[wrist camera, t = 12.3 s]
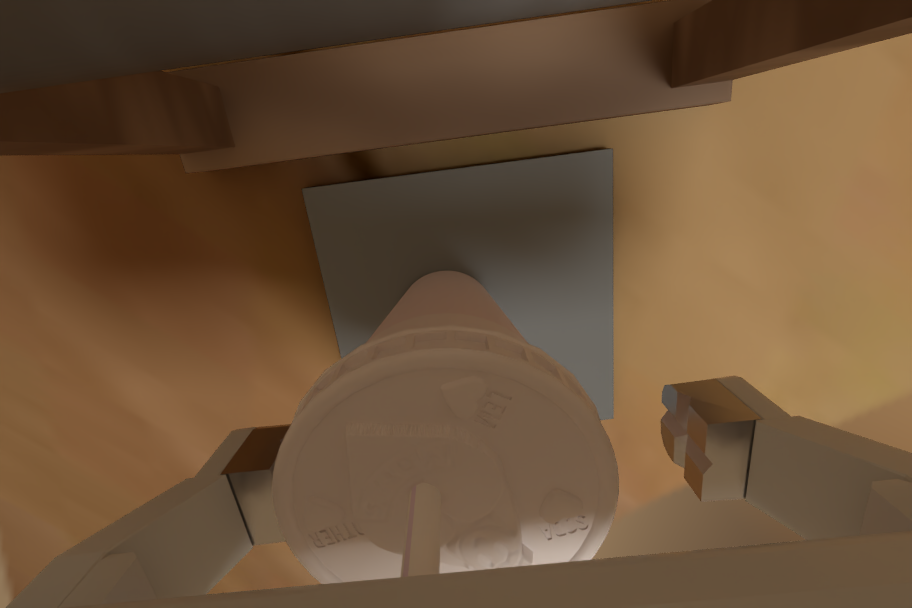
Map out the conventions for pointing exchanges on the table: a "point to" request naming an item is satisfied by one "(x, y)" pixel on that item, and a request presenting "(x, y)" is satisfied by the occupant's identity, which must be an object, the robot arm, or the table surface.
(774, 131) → the table surface
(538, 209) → the mat
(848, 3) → the bar hurdle
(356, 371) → the smoothie
